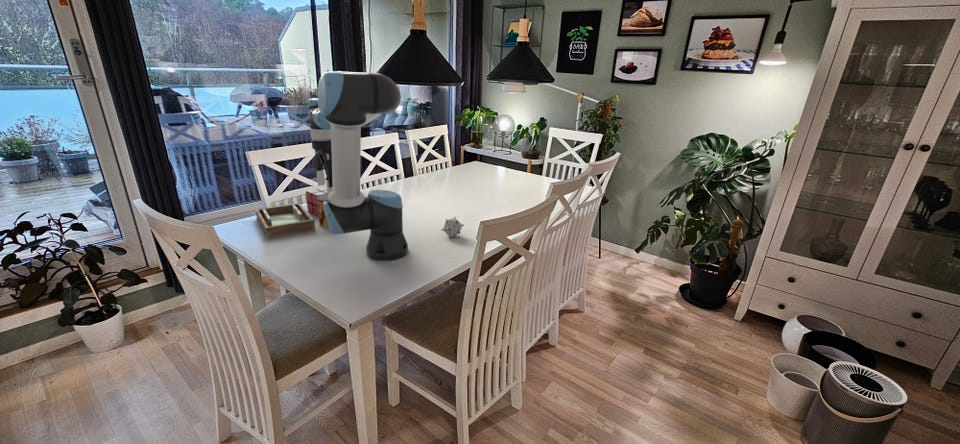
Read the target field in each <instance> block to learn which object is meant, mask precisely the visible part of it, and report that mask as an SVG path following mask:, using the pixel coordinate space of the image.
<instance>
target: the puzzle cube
mask: <svg viewBox="0 0 960 444" xmlns="http://www.w3.org/2000/svg"><path fill="white" fill-rule="evenodd" d="M326 194H327V186H323V187H322V186H321V187H319V188H315V189H309V190H306V191H305V198H306V206H307V212H308V213H309V214H310V213H311V214H313V215H315V216H318V217H319V211H318V202H317V197H318V196H320V195H326Z"/></svg>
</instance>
